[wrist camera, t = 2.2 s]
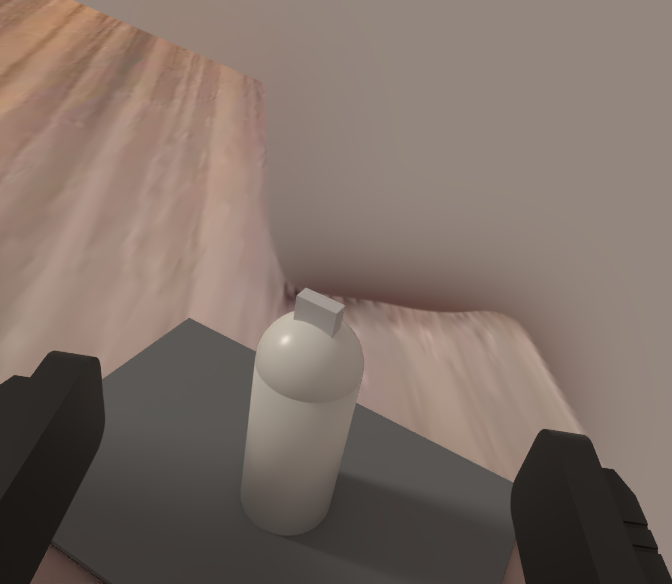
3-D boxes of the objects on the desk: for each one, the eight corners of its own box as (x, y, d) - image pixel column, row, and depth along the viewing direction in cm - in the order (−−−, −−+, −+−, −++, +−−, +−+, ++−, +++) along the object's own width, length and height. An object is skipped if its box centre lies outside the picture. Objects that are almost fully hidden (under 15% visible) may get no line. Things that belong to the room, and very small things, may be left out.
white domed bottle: (221, 503, 29) (237, 304, 22) (273, 444, 32) (301, 255, 25) (301, 553, 27) (345, 355, 20) (346, 485, 31) (397, 297, 24)
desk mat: (-34, 482, 28) (-35, 476, 28) (188, 322, 40) (189, 317, 40) (425, 817, 21) (428, 813, 20) (527, 495, 33) (530, 491, 33)
